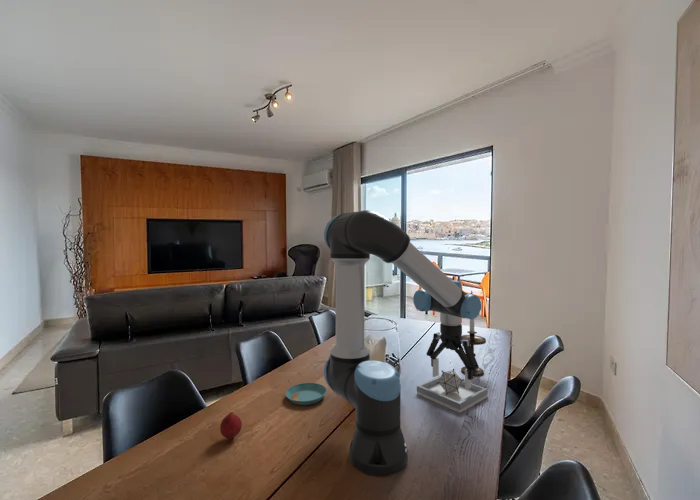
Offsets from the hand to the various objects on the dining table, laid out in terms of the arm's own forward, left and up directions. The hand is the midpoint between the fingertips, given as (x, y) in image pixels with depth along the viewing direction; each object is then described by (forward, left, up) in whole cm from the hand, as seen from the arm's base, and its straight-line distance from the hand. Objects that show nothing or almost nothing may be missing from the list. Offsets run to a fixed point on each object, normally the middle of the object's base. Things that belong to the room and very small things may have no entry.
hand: (451, 381), depth 121 cm
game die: (0, 0, -4) cm, 4 cm away
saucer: (-41, +33, -6) cm, 53 cm away
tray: (0, 0, -5) cm, 5 cm away
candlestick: (+25, +7, -5) cm, 27 cm away
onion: (-71, +25, -5) cm, 75 cm away
